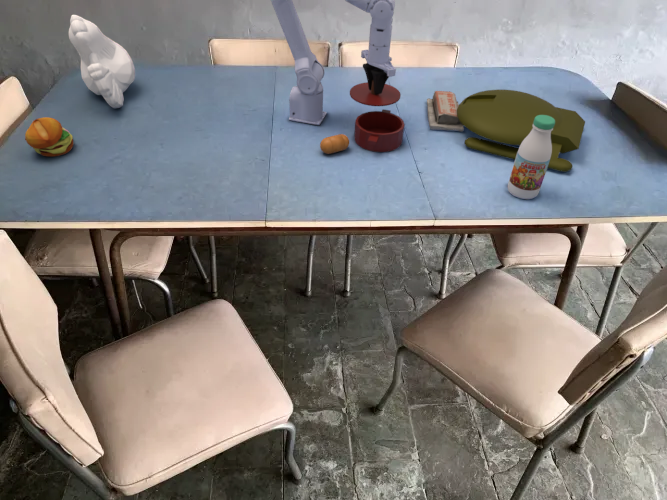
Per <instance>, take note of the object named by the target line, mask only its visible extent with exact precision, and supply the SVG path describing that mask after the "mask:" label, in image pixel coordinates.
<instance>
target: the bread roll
mask: <svg viewBox="0 0 667 500" xmlns="http://www.w3.org/2000/svg"><path fill="white" fill-rule="evenodd" d="M349 146H350V138H349V137H348V136H347V135H346V134H344V133H339V134H335V135H330V136H327V137H324V138H322V140H321V141H320V144H319V148H320V150H321V152H322V153H324V154H327V155H330V154H334V153H338V152H342V151H345V150H347V149H348V148H349Z"/></svg>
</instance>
